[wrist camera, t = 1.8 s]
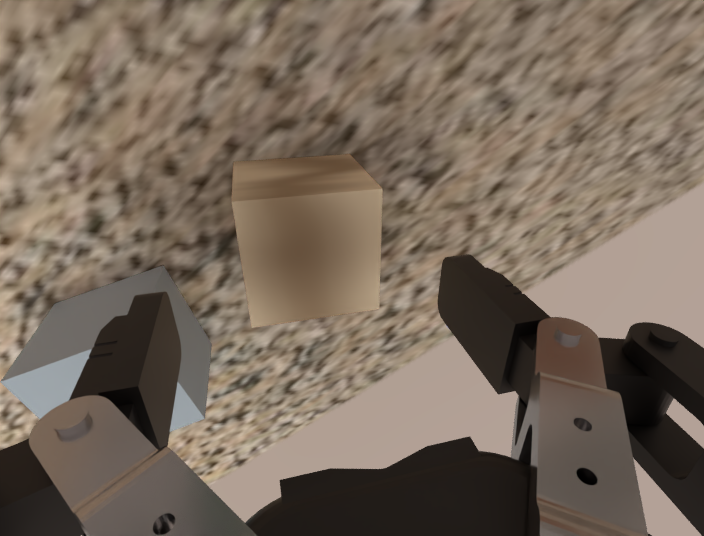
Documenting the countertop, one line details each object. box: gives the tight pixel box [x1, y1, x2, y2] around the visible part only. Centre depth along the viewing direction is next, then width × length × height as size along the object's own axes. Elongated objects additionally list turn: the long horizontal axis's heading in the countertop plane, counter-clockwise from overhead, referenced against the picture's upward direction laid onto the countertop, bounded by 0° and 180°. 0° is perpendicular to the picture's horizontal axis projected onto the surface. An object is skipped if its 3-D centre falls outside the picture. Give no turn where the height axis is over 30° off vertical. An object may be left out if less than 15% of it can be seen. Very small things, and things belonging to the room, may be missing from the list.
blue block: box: [1, 265, 212, 432], centre depth 18 cm, size 5×5×5 cm
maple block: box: [232, 154, 383, 328], centre depth 17 cm, size 5×5×5 cm
